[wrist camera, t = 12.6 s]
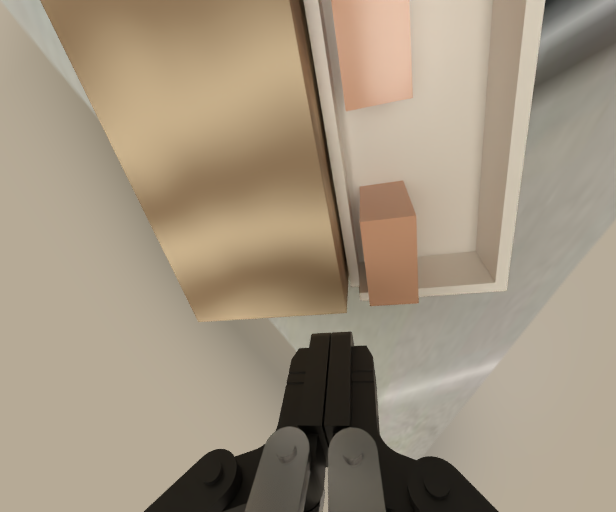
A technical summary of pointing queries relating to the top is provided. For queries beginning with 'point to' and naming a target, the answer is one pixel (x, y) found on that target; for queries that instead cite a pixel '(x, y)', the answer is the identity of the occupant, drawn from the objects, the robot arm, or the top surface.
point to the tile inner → (373, 51)
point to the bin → (440, 137)
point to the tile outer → (389, 243)
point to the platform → (219, 145)
